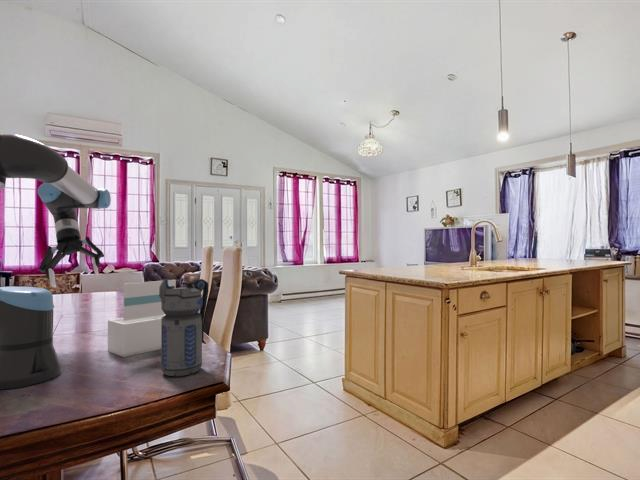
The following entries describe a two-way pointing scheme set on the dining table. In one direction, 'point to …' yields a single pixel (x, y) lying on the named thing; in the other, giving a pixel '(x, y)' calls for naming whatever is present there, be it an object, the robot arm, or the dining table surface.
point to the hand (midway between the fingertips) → (75, 279)
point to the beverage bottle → (182, 327)
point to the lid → (142, 299)
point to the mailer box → (134, 335)
